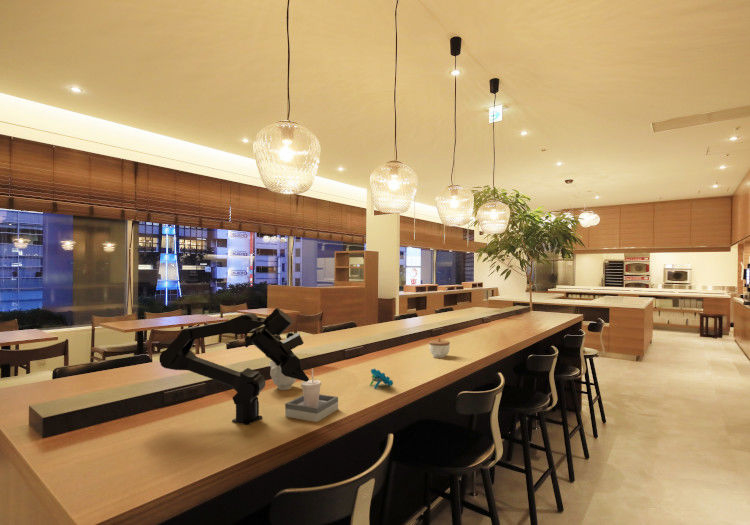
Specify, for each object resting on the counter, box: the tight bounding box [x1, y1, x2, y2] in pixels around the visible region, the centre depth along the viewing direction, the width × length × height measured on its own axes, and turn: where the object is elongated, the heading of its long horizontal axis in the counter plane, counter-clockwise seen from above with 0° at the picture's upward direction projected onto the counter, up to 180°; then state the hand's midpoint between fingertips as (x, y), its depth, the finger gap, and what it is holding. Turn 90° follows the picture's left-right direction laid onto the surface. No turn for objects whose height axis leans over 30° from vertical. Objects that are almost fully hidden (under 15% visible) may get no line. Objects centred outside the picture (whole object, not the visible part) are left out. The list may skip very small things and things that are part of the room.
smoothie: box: [300, 368, 322, 407], centre depth 125 cm, size 6×6×14 cm
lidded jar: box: [428, 338, 451, 359], centre depth 203 cm, size 11×11×9 cm
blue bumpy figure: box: [369, 368, 394, 389], centre depth 151 cm, size 11×6×10 cm
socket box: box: [284, 393, 339, 423], centre depth 125 cm, size 12×12×4 cm
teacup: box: [268, 360, 297, 391], centre depth 151 cm, size 12×15×10 cm
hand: (305, 376), depth 124 cm, fingers open, 9 cm apart
